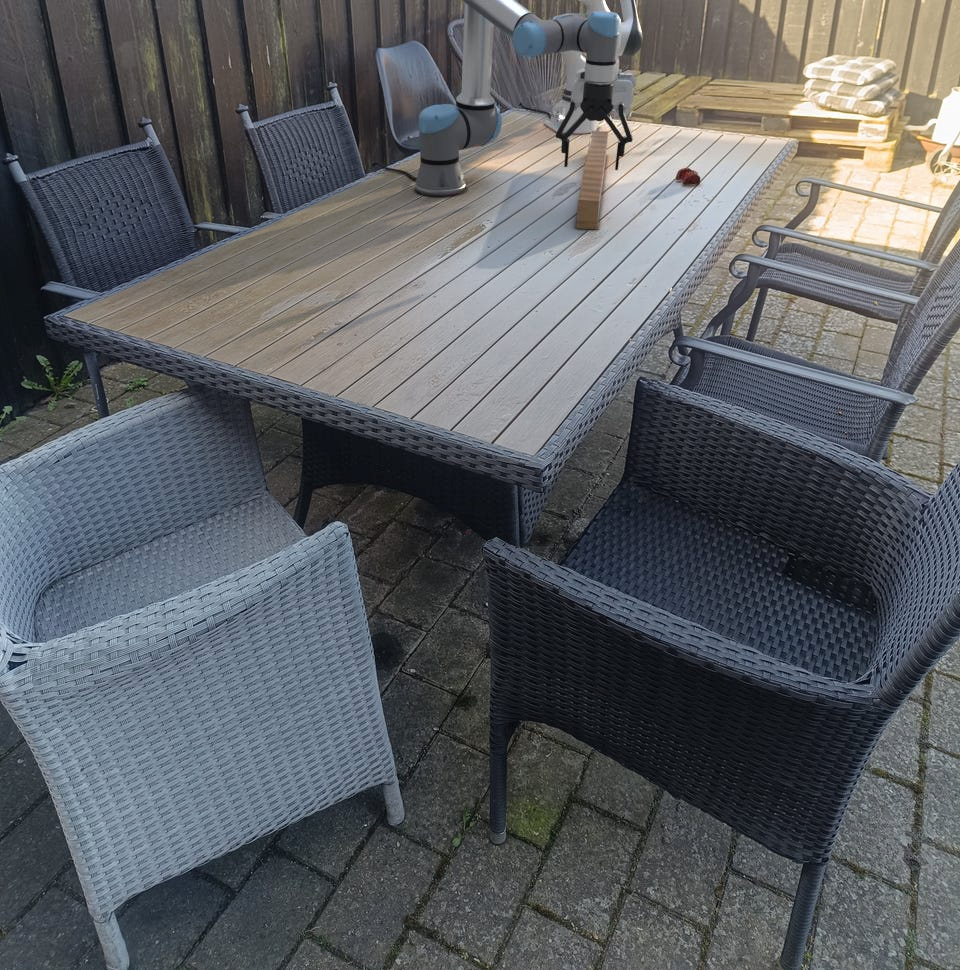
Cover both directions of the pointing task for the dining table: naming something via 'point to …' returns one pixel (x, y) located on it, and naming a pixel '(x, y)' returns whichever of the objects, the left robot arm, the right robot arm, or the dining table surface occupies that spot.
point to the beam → (592, 181)
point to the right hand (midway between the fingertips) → (600, 118)
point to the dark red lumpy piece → (688, 176)
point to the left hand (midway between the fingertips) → (591, 167)
